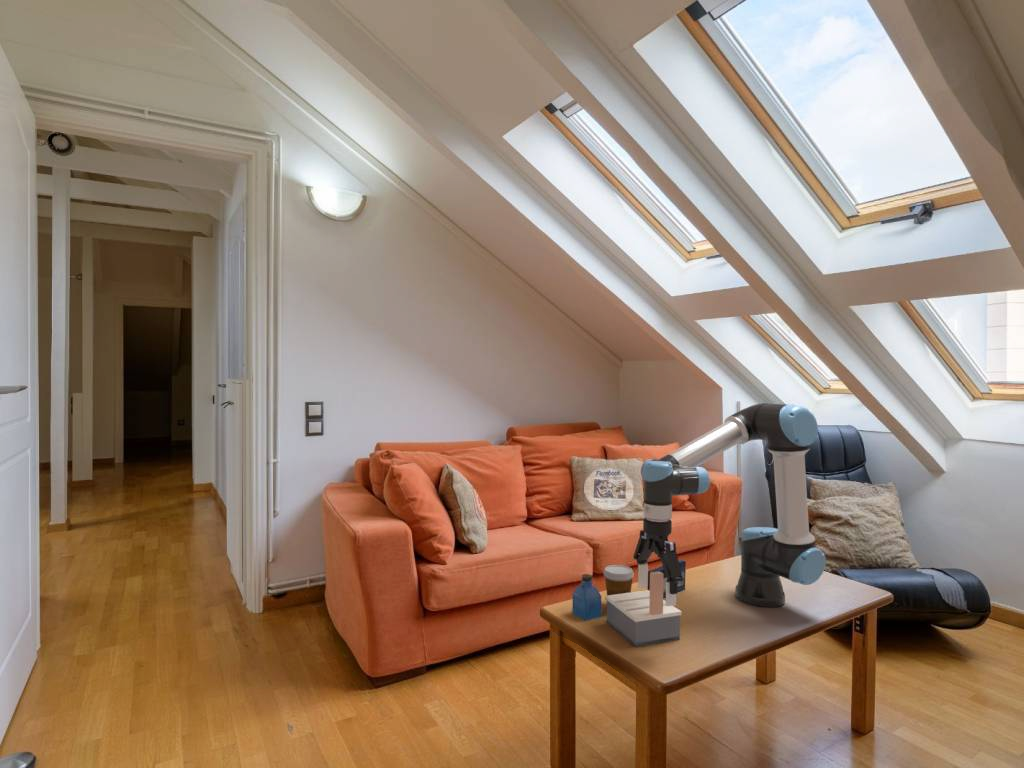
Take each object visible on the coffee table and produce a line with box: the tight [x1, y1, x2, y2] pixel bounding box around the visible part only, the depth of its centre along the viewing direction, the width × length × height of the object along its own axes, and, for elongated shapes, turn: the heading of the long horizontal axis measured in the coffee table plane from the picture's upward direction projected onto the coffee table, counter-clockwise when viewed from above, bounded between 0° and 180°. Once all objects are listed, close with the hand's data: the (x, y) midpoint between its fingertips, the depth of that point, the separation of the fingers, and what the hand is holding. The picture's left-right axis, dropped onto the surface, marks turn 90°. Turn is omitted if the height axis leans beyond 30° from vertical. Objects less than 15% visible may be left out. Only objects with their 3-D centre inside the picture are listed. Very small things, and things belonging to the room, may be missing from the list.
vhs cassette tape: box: [646, 559, 687, 600], centre depth 194 cm, size 18×3×10 cm, turn 129°
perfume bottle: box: [571, 573, 602, 622], centre depth 177 cm, size 6×6×12 cm
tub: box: [606, 600, 681, 648], centre depth 167 cm, size 14×16×7 cm
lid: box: [605, 571, 683, 622], centre depth 166 cm, size 15×17×13 cm
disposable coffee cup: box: [603, 564, 635, 596], centre depth 183 cm, size 10×10×12 cm
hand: (656, 595), depth 160 cm, fingers open, 13 cm apart
